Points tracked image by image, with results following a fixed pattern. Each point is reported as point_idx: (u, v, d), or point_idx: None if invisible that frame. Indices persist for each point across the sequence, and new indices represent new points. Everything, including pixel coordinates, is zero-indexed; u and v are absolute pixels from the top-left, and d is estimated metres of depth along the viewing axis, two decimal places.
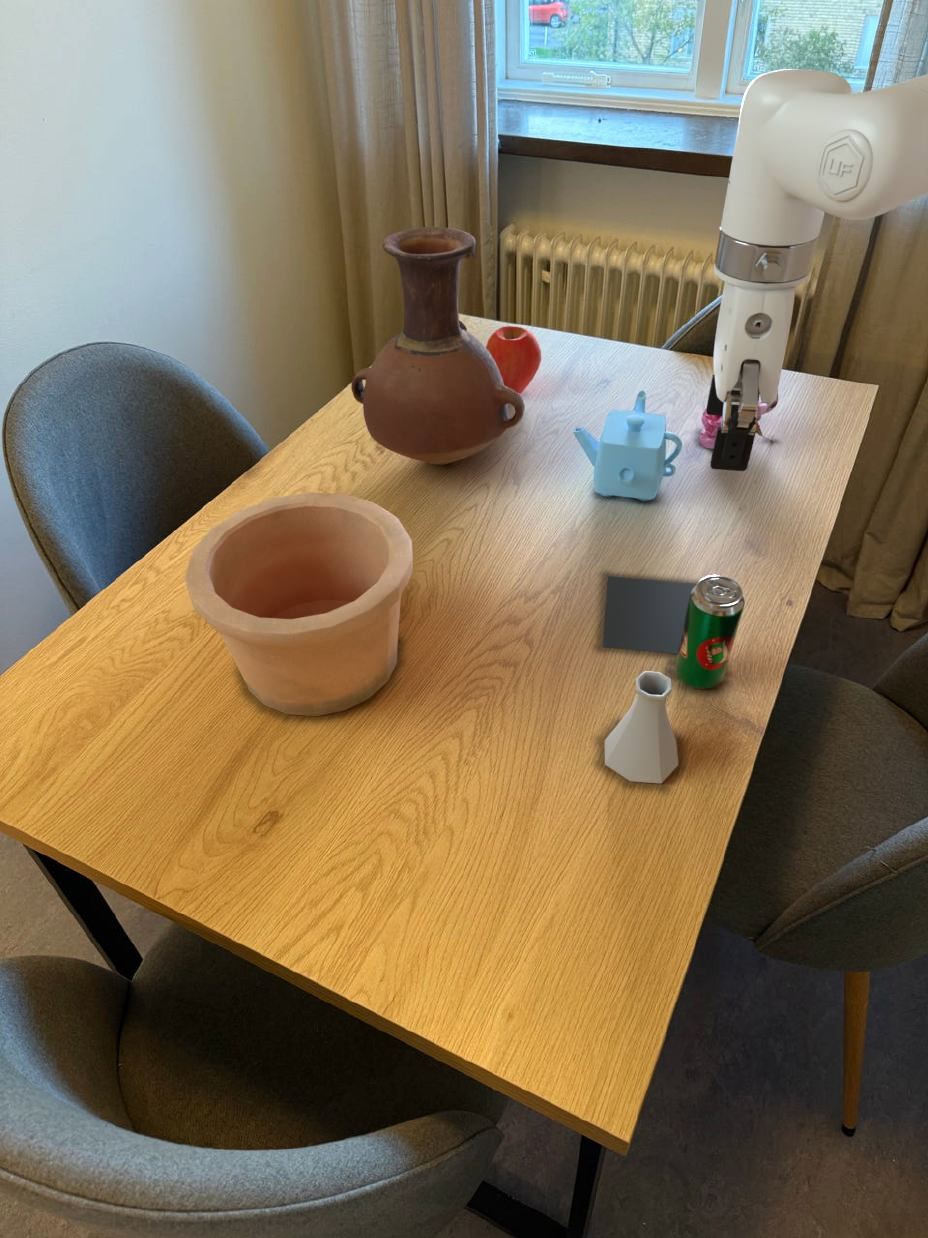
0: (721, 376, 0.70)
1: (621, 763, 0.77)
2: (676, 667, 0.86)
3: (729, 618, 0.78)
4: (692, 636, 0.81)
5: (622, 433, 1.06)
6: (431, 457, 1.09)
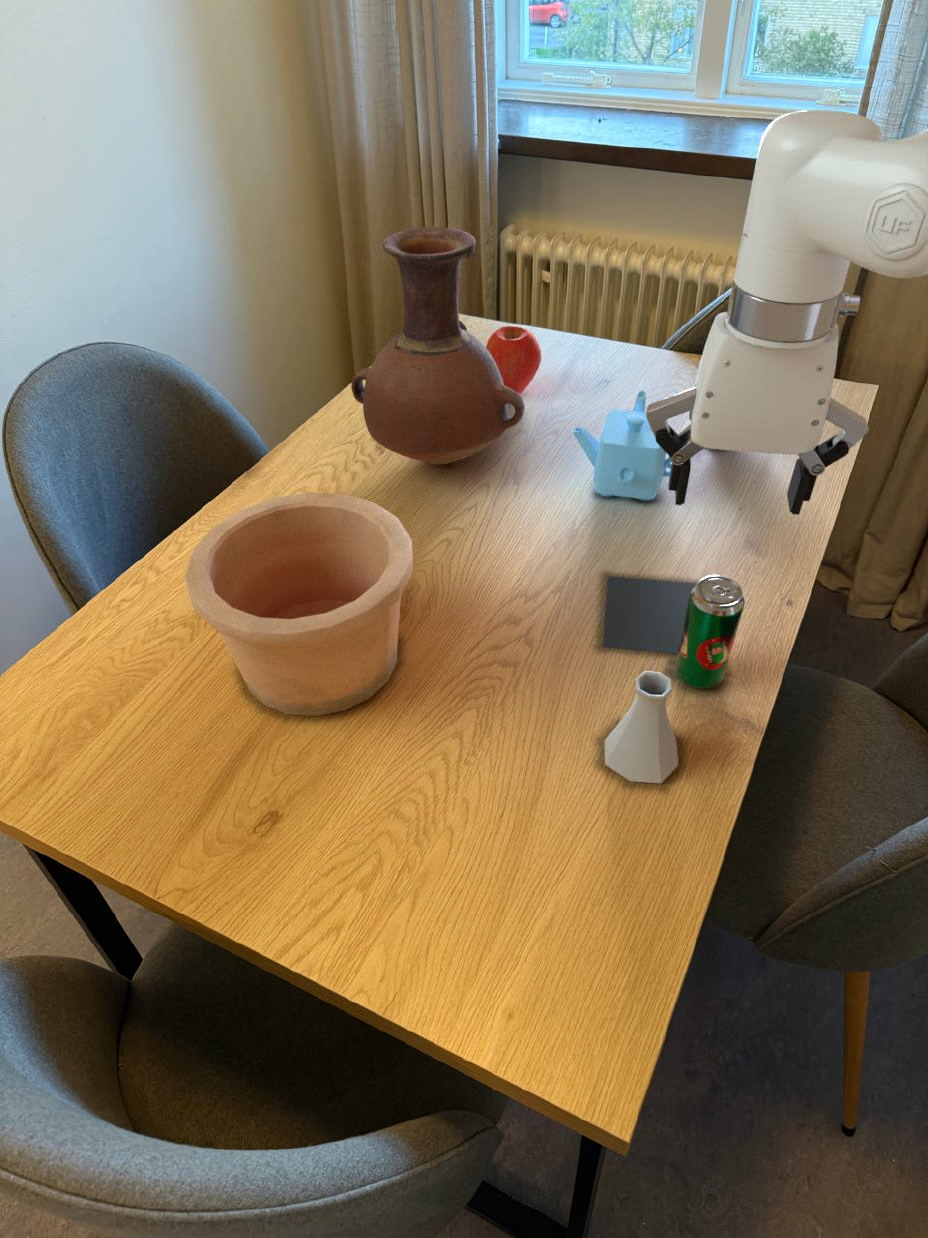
0: (816, 429, 0.65)
1: (621, 763, 0.77)
2: (676, 667, 0.86)
3: (729, 618, 0.78)
4: (692, 636, 0.81)
5: (622, 433, 1.06)
6: (431, 457, 1.09)
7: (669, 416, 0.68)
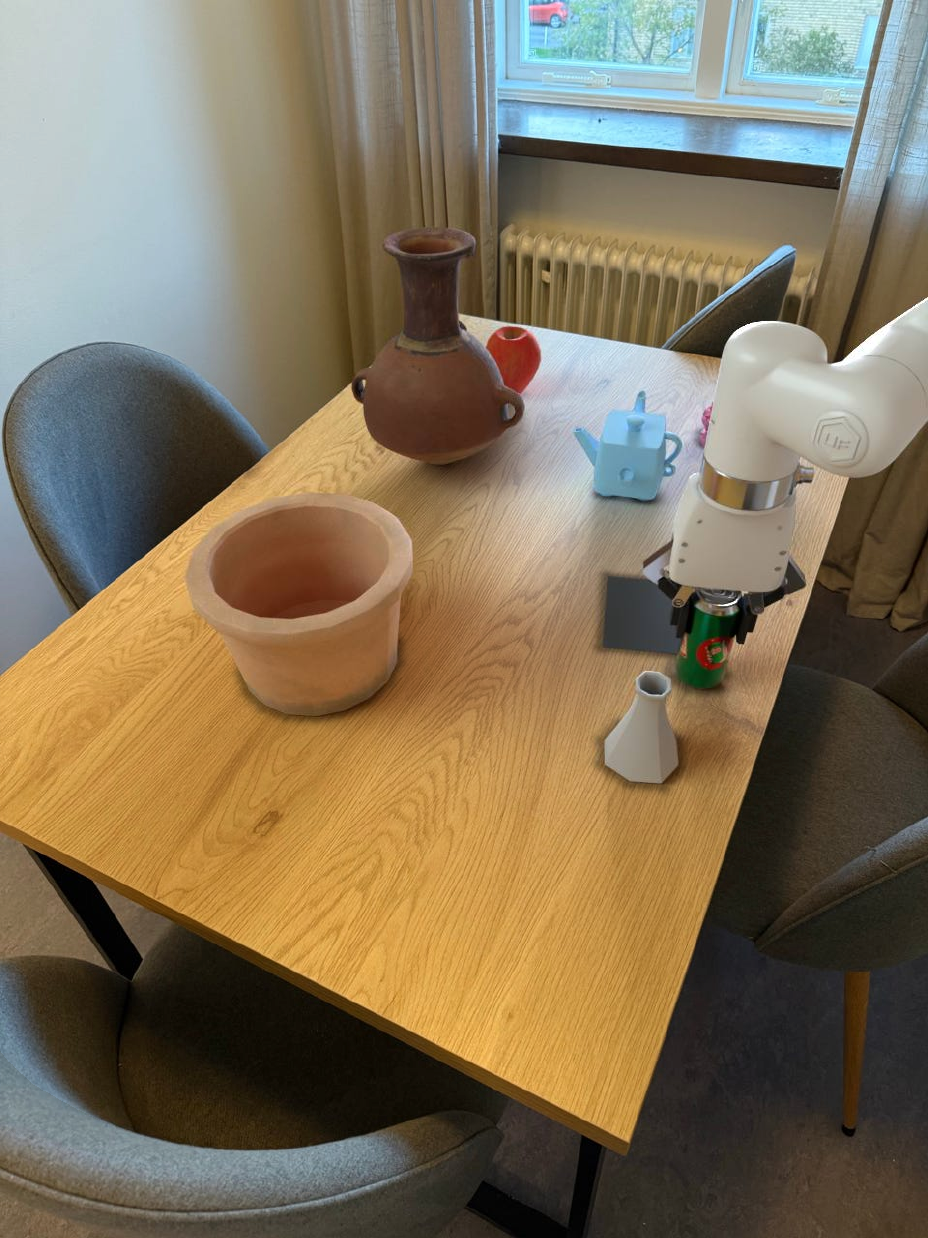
0: (779, 574, 0.74)
1: (621, 763, 0.77)
2: (676, 667, 0.86)
3: (728, 618, 0.78)
4: (691, 636, 0.81)
5: (622, 433, 1.06)
6: (431, 457, 1.09)
7: (661, 568, 0.77)
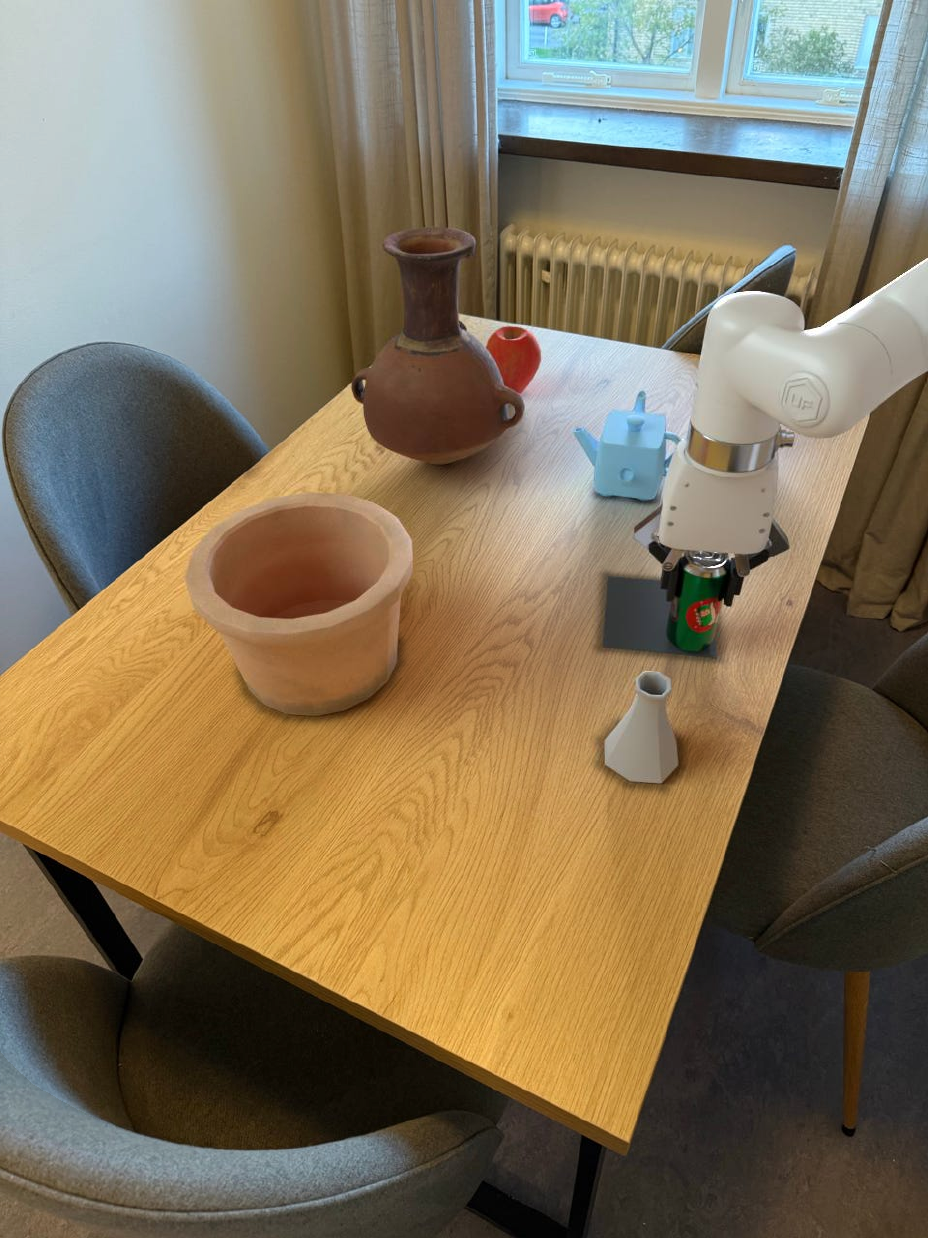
0: (763, 535, 0.77)
1: (621, 763, 0.77)
2: (667, 632, 0.90)
3: (716, 579, 0.81)
4: (681, 599, 0.85)
5: (622, 433, 1.06)
6: (431, 457, 1.09)
7: (651, 532, 0.81)
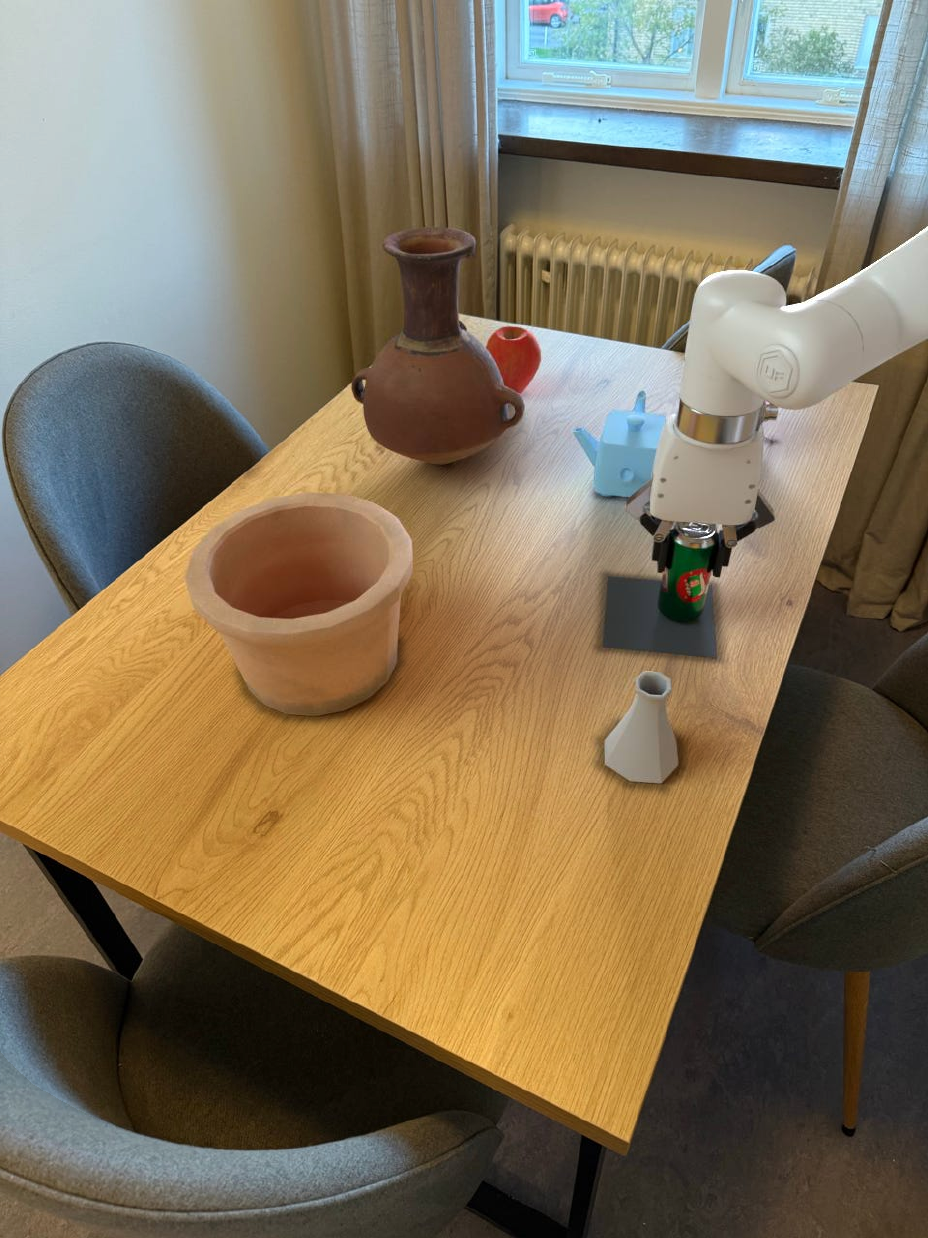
0: (749, 506, 0.81)
1: (621, 763, 0.77)
2: (658, 603, 0.93)
3: (705, 550, 0.85)
4: (672, 570, 0.88)
5: (622, 433, 1.06)
6: (431, 457, 1.09)
7: (642, 504, 0.84)
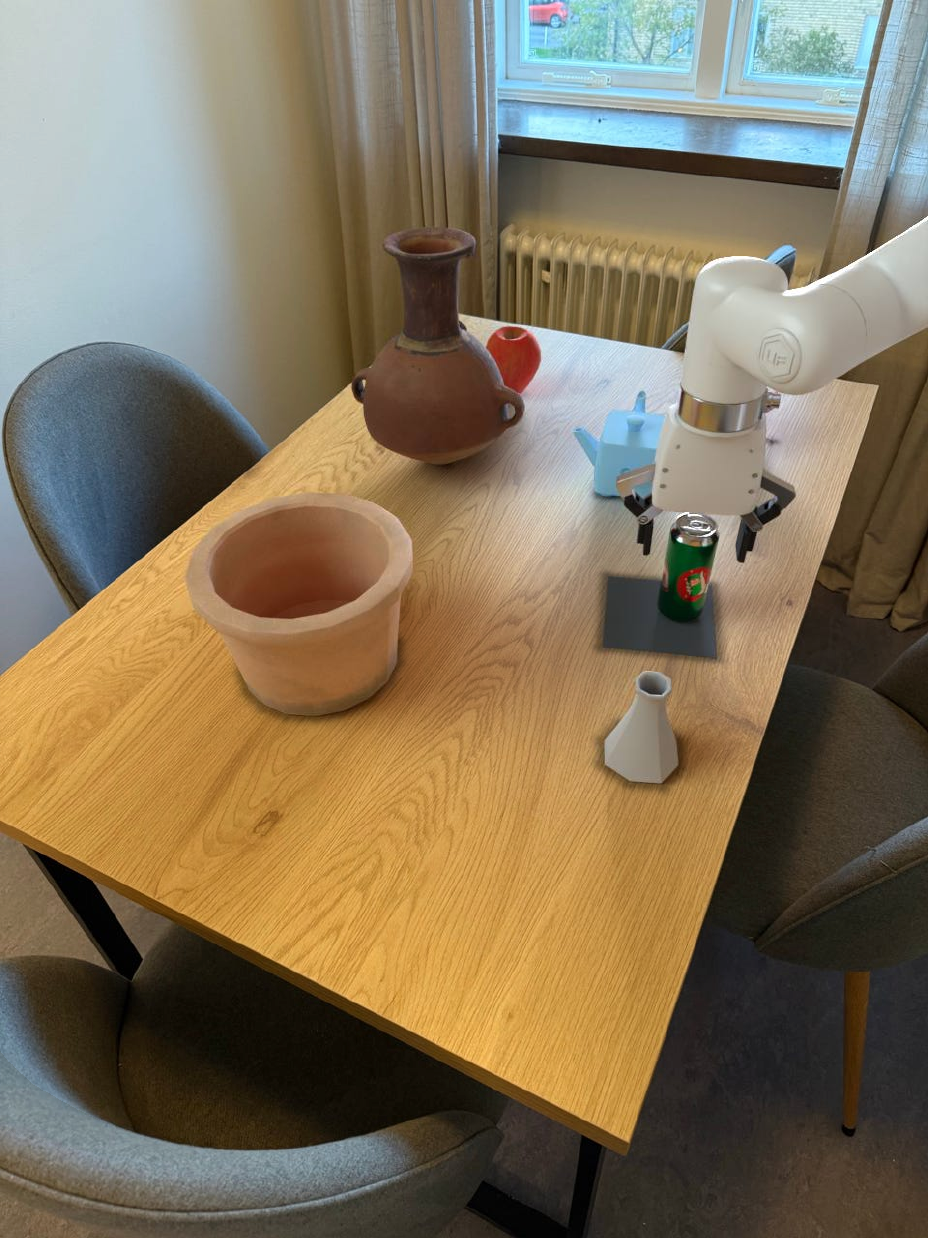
0: (753, 496, 0.80)
1: (621, 763, 0.77)
2: (658, 603, 0.93)
3: (705, 548, 0.85)
4: (672, 568, 0.88)
5: (622, 433, 1.06)
6: (431, 457, 1.09)
7: (634, 485, 0.83)
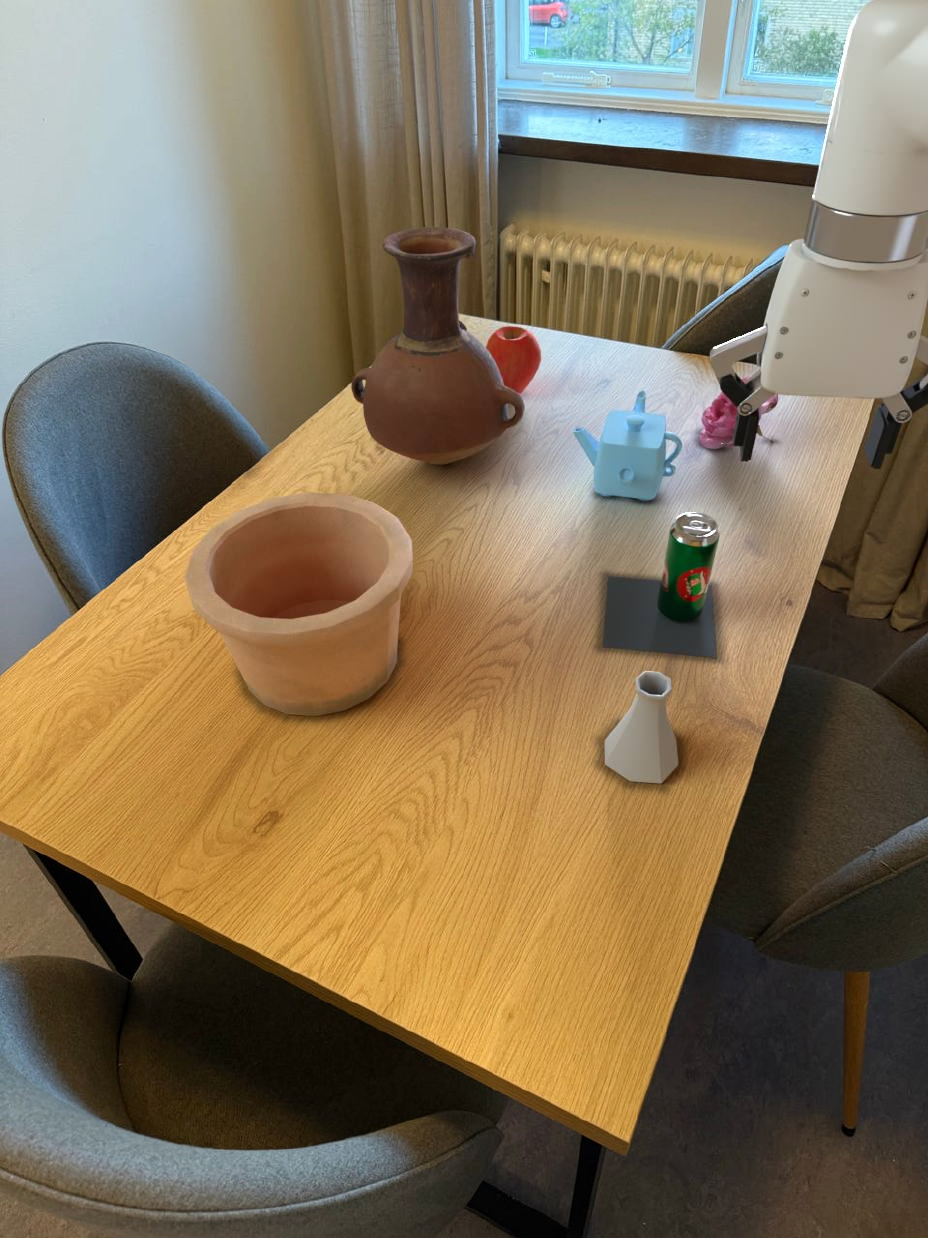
0: (905, 367, 0.58)
1: (621, 763, 0.77)
2: (658, 603, 0.93)
3: (705, 548, 0.85)
4: (672, 568, 0.88)
5: (622, 433, 1.06)
6: (431, 457, 1.09)
7: (736, 359, 0.61)
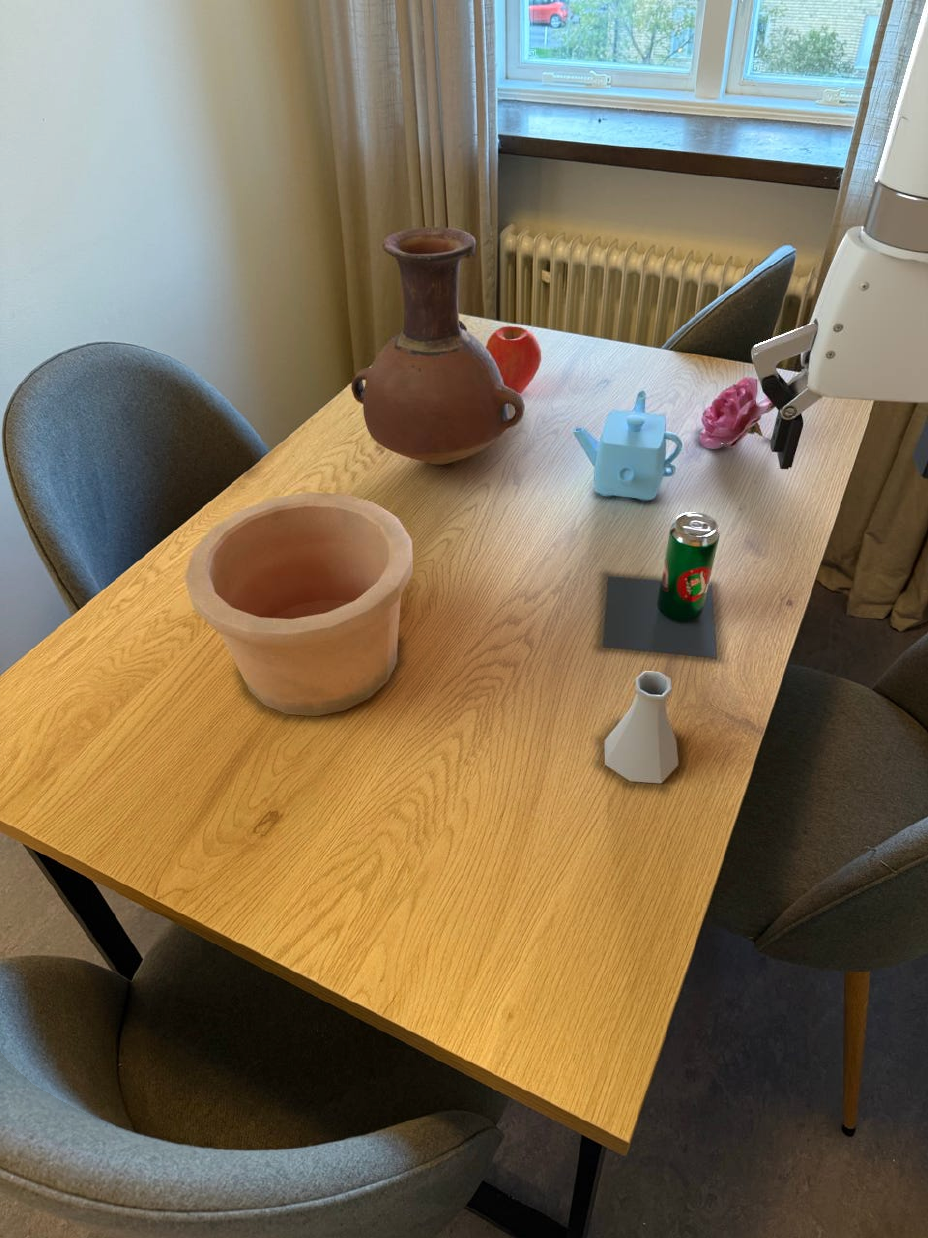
0: None
1: (621, 763, 0.77)
2: (658, 603, 0.93)
3: (705, 548, 0.85)
4: (672, 568, 0.88)
5: (622, 433, 1.06)
6: (431, 457, 1.09)
7: (781, 358, 0.56)
